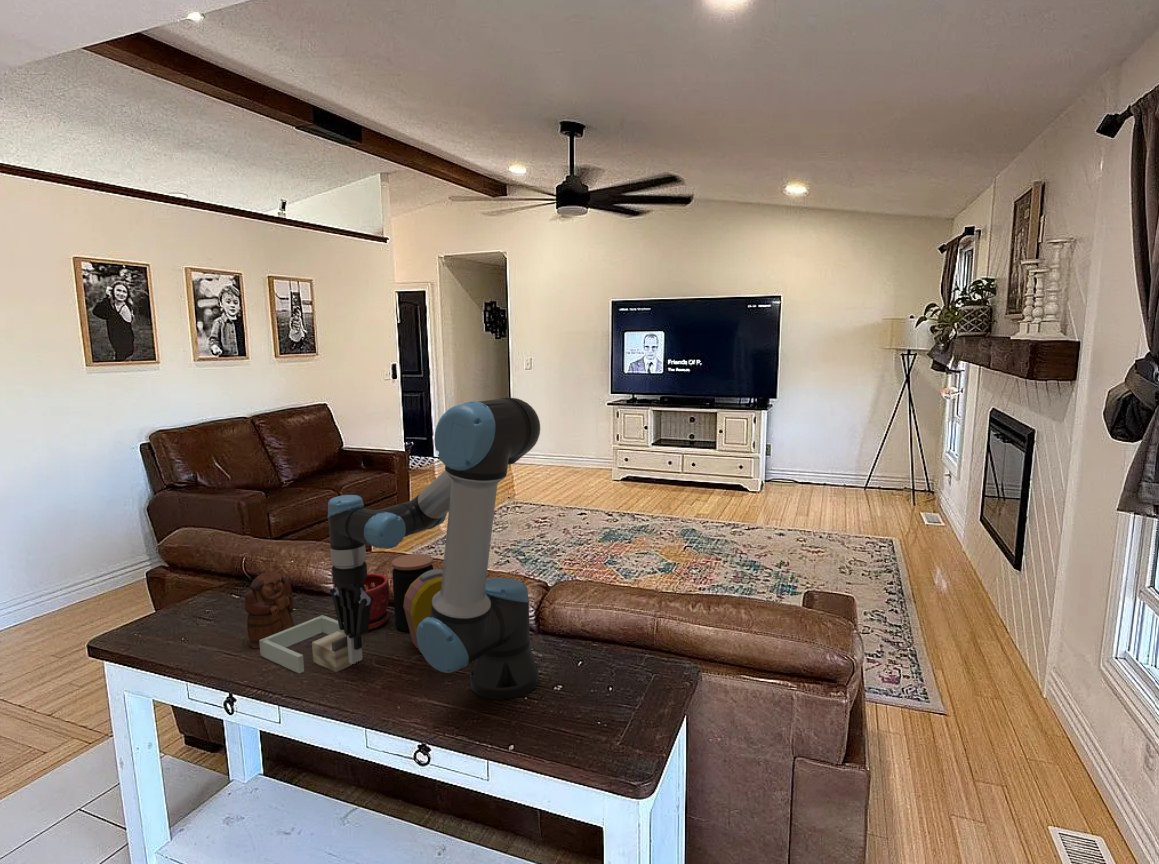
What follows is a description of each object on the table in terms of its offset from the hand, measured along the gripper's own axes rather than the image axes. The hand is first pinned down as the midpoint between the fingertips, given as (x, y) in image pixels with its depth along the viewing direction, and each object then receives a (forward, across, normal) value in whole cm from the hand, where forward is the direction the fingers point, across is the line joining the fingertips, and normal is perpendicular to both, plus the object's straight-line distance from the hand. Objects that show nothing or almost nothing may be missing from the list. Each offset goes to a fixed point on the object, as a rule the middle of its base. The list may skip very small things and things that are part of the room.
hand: (355, 660), depth 153 cm
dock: (+2, +17, 0) cm, 17 cm away
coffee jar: (+2, +7, -24) cm, 25 cm away
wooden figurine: (+2, +31, +2) cm, 31 cm away
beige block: (+2, +7, 0) cm, 7 cm away
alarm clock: (+2, -6, -20) cm, 21 cm away
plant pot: (+2, +19, -17) cm, 25 cm away
